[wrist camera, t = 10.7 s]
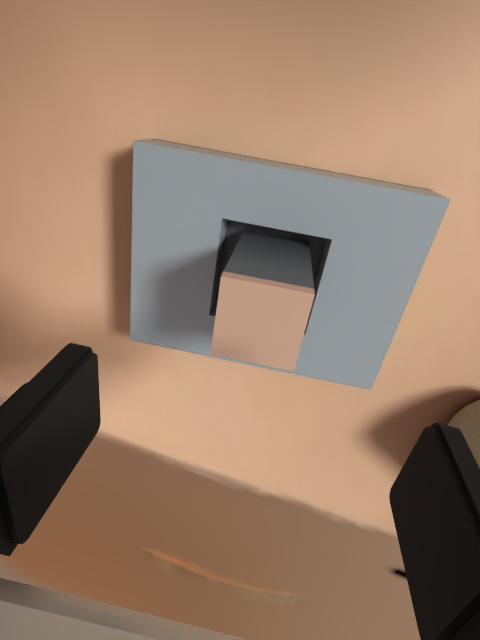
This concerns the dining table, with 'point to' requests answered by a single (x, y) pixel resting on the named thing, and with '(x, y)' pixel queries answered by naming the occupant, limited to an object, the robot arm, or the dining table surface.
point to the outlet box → (282, 220)
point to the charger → (264, 300)
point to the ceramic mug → (469, 426)
